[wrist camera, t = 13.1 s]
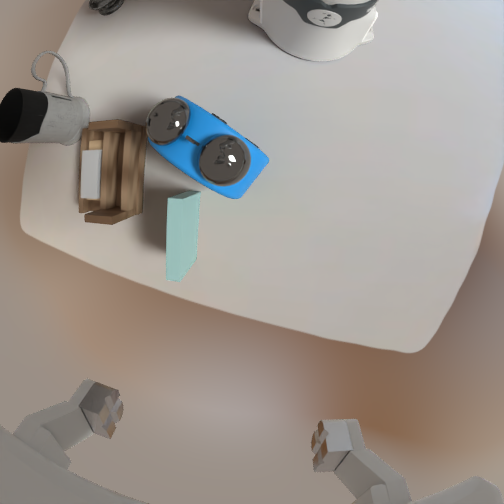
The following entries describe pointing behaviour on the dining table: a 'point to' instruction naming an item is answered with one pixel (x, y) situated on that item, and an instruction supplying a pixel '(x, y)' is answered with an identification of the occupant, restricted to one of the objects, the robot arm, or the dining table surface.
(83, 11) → the dining table surface
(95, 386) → the robot arm
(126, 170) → the rack
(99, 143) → the oak offcut
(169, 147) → the alarm clock
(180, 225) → the panel
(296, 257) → the dining table surface
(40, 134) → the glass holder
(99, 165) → the grey offcut
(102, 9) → the dark grey figurine
